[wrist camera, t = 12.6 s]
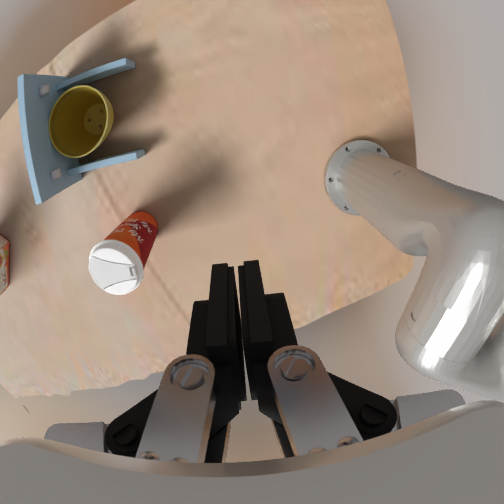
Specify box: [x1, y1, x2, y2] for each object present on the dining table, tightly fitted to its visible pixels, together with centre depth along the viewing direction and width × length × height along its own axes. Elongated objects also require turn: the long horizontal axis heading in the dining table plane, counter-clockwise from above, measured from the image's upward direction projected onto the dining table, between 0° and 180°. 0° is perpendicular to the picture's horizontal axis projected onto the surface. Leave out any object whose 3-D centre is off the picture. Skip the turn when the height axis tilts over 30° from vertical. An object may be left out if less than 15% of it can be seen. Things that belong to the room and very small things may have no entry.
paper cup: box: [89, 211, 158, 295], centre depth 36 cm, size 8×8×14 cm
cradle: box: [18, 58, 145, 205], centre depth 28 cm, size 13×18×12 cm
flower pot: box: [49, 85, 114, 158], centre depth 30 cm, size 10×10×7 cm
